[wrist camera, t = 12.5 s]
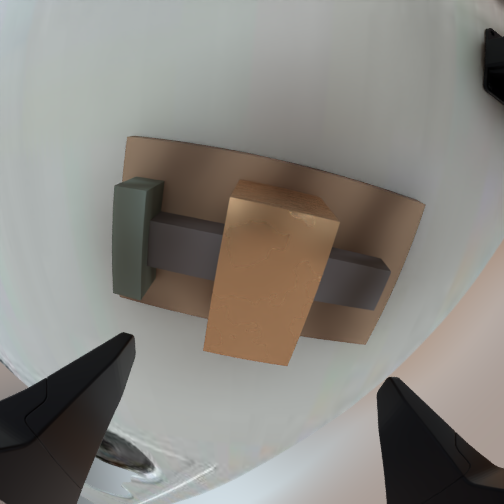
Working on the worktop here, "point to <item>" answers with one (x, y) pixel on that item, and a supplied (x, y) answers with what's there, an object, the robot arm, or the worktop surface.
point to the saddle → (267, 271)
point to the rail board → (212, 199)
